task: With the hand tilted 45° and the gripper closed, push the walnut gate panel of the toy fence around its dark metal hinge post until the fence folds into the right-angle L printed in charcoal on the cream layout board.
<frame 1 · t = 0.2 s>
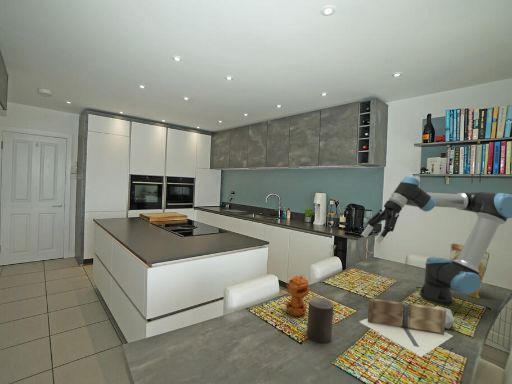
hand: (370, 238, 127), 35 cm above the table, tool tilted 35°, fingers open, 13 cm apart
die: (441, 326, 117), on the table
toy dinosaur: (296, 313, 122), on the table
layout board: (404, 329, 112), on the table
pillar candle: (319, 336, 104), on the table
fence gate: (384, 312, 115), point 6 cm above the table, hinge at 0.0°
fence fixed: (404, 327, 113), resting on layout board
pancake mix bag: (463, 292, 157), on the table
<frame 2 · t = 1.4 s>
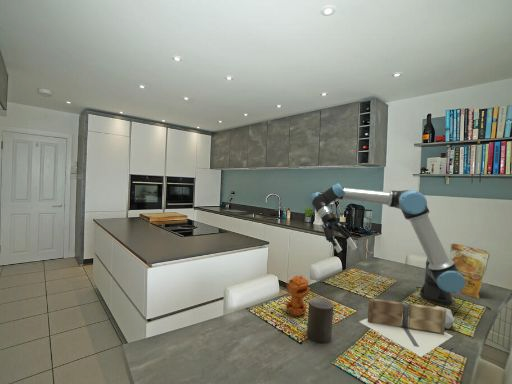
hand: (347, 250, 134), 28 cm above the table, tool tilted 45°, fingers open, 11 cm apart
nothing on the table moved.
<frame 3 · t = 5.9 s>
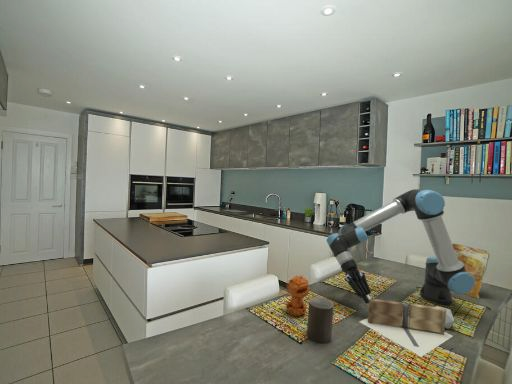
hand: (373, 309, 117), 5 cm above the table, tool tilted 45°, fingers closed
fence gate: (385, 312, 114), point 6 cm above the table, hinge at 1.7°, touching gripper
everything else where it was.
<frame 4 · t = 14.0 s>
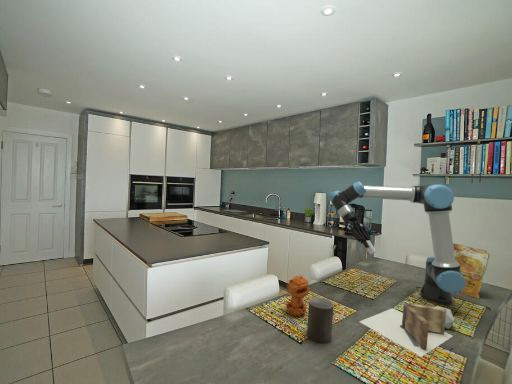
hand: (373, 252, 129), 28 cm above the table, tool tilted 45°, fingers closed
fence gate: (416, 326, 104), point 6 cm above the table, hinge at 98.7°
everything else where it was.
at the end: fence gate at +99° (first picture: +0°); toy dinosaur moved 0.2 cm from its start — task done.
